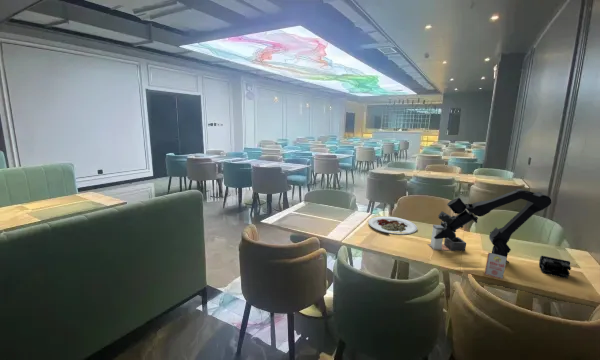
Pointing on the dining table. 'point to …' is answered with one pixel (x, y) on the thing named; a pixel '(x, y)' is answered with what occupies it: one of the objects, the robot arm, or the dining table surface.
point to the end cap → (554, 266)
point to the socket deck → (452, 245)
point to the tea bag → (495, 265)
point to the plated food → (392, 225)
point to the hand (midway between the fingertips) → (434, 236)
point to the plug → (436, 242)
